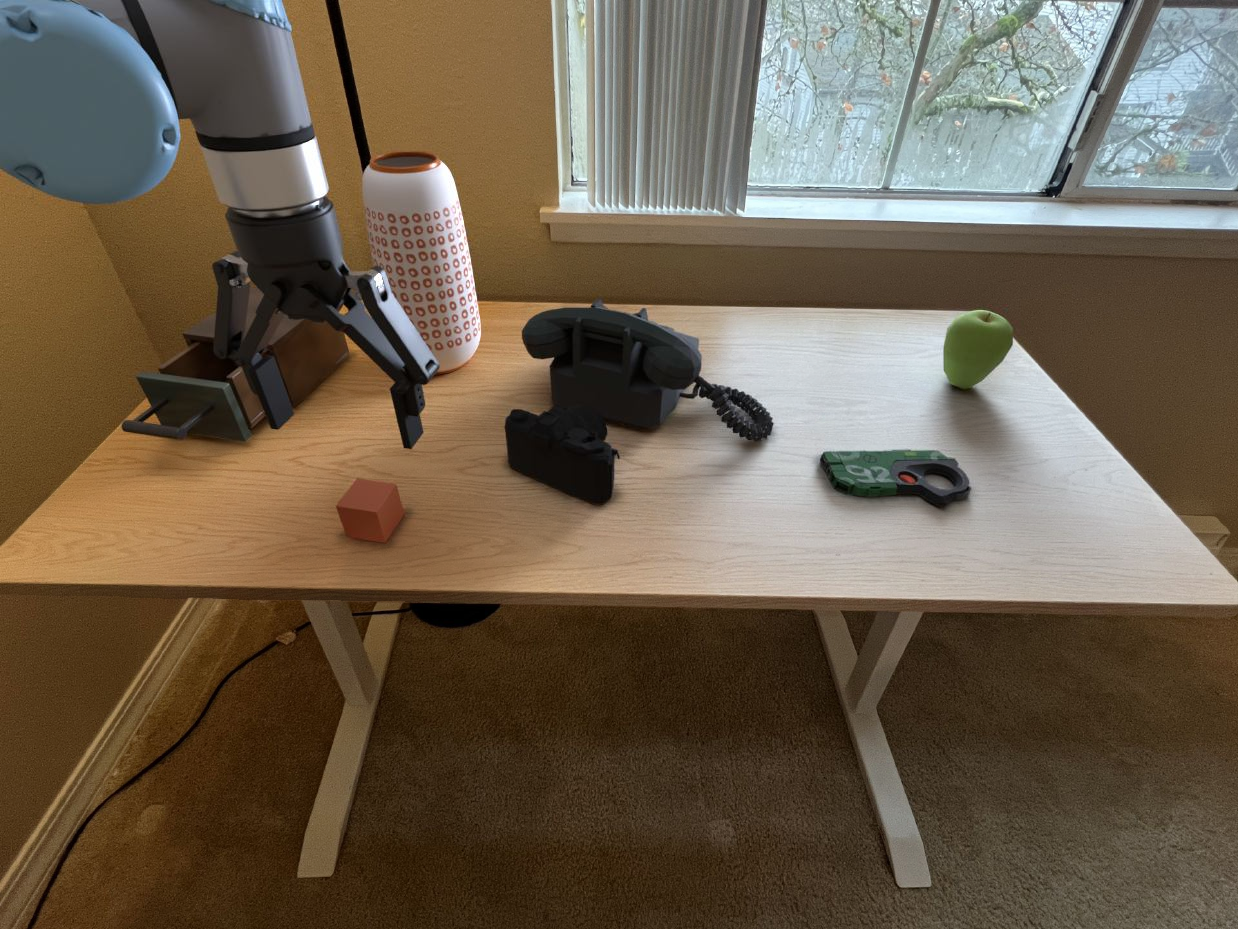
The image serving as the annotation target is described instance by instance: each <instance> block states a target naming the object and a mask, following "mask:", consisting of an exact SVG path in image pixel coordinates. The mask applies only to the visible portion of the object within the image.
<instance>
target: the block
mask: <svg viewBox="0 0 1238 929" xmlns="http://www.w3.org/2000/svg"><path fill="white" fill-rule="evenodd" d="M402 504H403V503H402V500H401V497H400V491H399V488H398V484H397V483H393V482H386V481H379V480H373V479H366V478H359V477H356V479H355V481H353V483H352V484H351V486H350V487H349V488H348V489H347V491H346V492H345V493H344V495H343V496H342V497H341V498H340V499H339V500H338V502H337V503H336V504H335V509H336V512H337V514H338V518H339V520H340V524H341V526H342V529H343V532H344V535H345V537H346V538H352V539H357V540H364V541H369V542H375V543H382V544H386V543H387V542H388V540H389V539H390V537H391V535H392V534H393V533H394V531H395V530H396V528H397V526H398V525H399V524H400V522H401V521H402V519H403V518H404V516H405V512H404V508H403V505H402Z"/></svg>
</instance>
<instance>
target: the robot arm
mask: <svg viewBox="0 0 1238 929" xmlns="http://www.w3.org/2000/svg"><path fill="white" fill-rule="evenodd" d="M292 32H293V29H292V24H291V23H290V22H289V20H288V16H287V13H286V10H285V7H284V3H283V0H0V170H1V171H3V172H5V173H6V174H7V175H9V176H11V177H12V178H15V179H17V180H18V181H20V182H21V183H23V184H25V185H28V186H29V187H31V188H34V189H35V190H37V191H40V192H42V193H44V194H47V195H49V196H52V197H54V198H58V199H62V200H65V201H69V202H74V203H79V204H80V203H81V204H88V205H110V204H116V203H123V202H126V201H129V200H132V199H135V198H138V197H140V196H142V195H144V194H146V193H148V192H150V191H151V190H152V189H154V188H155V187H157V186H158V185H159V184H160V183H161V182H162V181H163V180H164V179H165V178H166V176H167V175H168V173H169V172H170V171H171V169H172V168H173V165H174V163H175V161H176V158H177V154H178V152H179V147H180V142H181V139H182V138H181V137H182V135H181V129H180V122H179V120H187V119H188V120H189V121H190V122H191V124H192V126H193V128H194V131H195V135H196V139H197V141H198V143H199V146H200V149H201V152H202V155H203V158H204V161H205V164H206V166H207V171H208V172H209V176H210V179H211V181H212V184H213V187H214V191H215V193H216V195H217V199H218V201H219V203H220V204H222V205H223V206H225V207H227V210H226V212H225V213H224V217H225V220H226V223H227V226H228V229H229V231H230V234H231V236H232V240H233V241H234V242H233V243H234V246H235V247H236V250H233V251H232V252H231V253H229V254H226V255H225V256H223V257H221V258H219V259H218V260H216V261H214V262H213V263H212V265H211V267H212V271H213V274H214V278H215V281H216V285H217V298H216V309H215V312H216V320H215V333H214V345H213V352H214V354H215V355H216V356H217V357H218V358H220V359H225V358H226V357H228V358H230V359H233V360H234V361H235V363H236V364H237V365H238V366H240V367H242V369H243V372H244V374H245V377H246V379H247V382H248V384H249V387H250V389H251V391H252V392H253V393H254V394H255V395H258V397H259V399H260V402H261V404H262V407H263V410H264V412H265V415H266V416H265V417H266V420H267V422H268V424H269V427H270V429H271V430H276V431H279V430H280V429H282V427H283V426H284V425H285V424H286V423H287V422H289V420H290V419H291V418H292V417H294V415H295V412H294V408H292V405H291V403H290V400H289V397H288V394H287V392H286V389H285V386H284V383H283V380H282V378H281V375H280V372H279V369H278V367H277V364H276V361H275V358H274V356H269V355H266V356H265V357H263V358H262V357H261V355H262V354H263V353H264V352H266V351H267V350H268V349H266V347H267V346H268V344H269V342H270V340H271V338H272V337H273V335H274V333H275V331H276V329H277V328H278V326H279V324H280V322H281V320H282V319H283V317H284V315H285V314H286V315H288V317H289V319H295V320H299V319H308V320H311V321H314V322H320V323H324V322H325V321H326V322H327V323H328V324H329V325H331V326H332V327H333V328H334V329H335V330H336V331H340V332H344V335H345V336H347V337H348V338H349V339H350V341H351V342H353V344H355V345H356V346H357V347H358V348H359V349H360V350H361V351H362V352H363V353H364V354H365V355H366V356H367V357H368V358H369V360H371V361H372V362H373V363H374V364H375V365H377V366H378V367H379V368H380V369H381V370H382V371H383V373H385V375H387V376H388V377H389V378H390V379H391V380H392V381H393V382H394V383H393V384H392V386H390V388H389V392H390V395H391V397H390V398H391V401H392V404H393V409H394V414H395V417H396V422H397V426H398V430H399V434H400V438H401V442H402V447H403V449H406V450H412V449H413V448H414V446H415V445H416V444H417V442H418V441H419V440H420V438H421V437H422V436H423V434H424V433H425V431H424V427H423V422H422V417H421V413H423V411H424V409H425V408H426V399H425V395H424V390H423V386H426V385H427V384H428V383H429V382H430V381H431V380H432V378H433V377H434V376H435V375H436V374H435V373H436V372H437V371H438V370H439V368H440V365H439V363H438V361H437V360H436V358H435V357H434V355H433V354H432V352H431V351H430V349H429V348H428V346H427V345H426V343H425V342H424V340H423V339H422V337H421V336H420V334H419V333H418V331H417V330H416V328H415V327H414V325H413V324H412V322H411V321H410V319H409V318H408V316H407V315H406V313H405V312H404V310H403V309H402V307H401V306H400V304H399V303H398V301H397V300H396V298H395V297H394V295H393V294H392V292H391V288H390V285H389V282H388V279H387V276H386V273H385V271H384V269H383V268H381V267H380V266H374V267H373V266H372V267H371V268H369V270H356V271H355V270H353V271H352V270H351V269H350V268H349V267H348V265H347V264H346V262H345V259H344V255H343V248H344V247H343V243H344V242H343V238H342V233H341V229H340V225H339V221H338V216H337V214H336V210H335V204H334V203H333V201H332V200H331V199H329V198H328V197H327V194H328V192H329V191H330V187H329V183H328V179H327V174H326V170H325V166H324V162H323V159H322V155H321V151H320V146H319V143H318V139H317V135H316V133H315V129H314V125H313V122H312V118H311V114H310V109H309V105H308V101H307V97H306V93H305V88H304V84H303V79H302V75H301V71H300V68H299V67H300V66H299V62H298V57H297V54H296V49H295V48H296V47H295V44H294V40H293V35H292ZM251 282H252V283H253V284H254V286H255V287H258V288H259V290H260V291H261V292H262V293H263V294H264V296H263V298H262V300H261V302H260V304H259V306H258V308H257V310H256V312H255V313H256V314H257V315H256V316H255V318H254V320H253V322H252V324H251V326H250V328H249V330H248V332H247V334H246V336H245V327H246V319H247V310H248V302H249V293H250V289H251ZM351 290H353V291H354V292H355V293H356V294H355V293H353V292H352V291H351ZM343 306H344V307H345V308H346V309H347V312H346V313H345V314H341V313H340V311H341V310H342V308H343ZM244 336H245V338H244ZM265 349H266V350H265Z"/></svg>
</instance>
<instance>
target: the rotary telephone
mask: <svg viewBox="0 0 1238 929" xmlns="http://www.w3.org/2000/svg"><path fill="white" fill-rule="evenodd" d="M523 326H524V327H523V328H522V329H521V340H522V343H523V345H524V347H525V349H526V352H527V354H528V355H529V356H530V357H531V358H532V359H536V360H547V359H552V361H551V363H550V365H549V381H550V382H549V384H550V385H549V386H550V399H551V400H550V401H551V403H552V404H554V405H555V406H556V407H559V408H562V409H564V410H567V409H568V408H570V407H573V406H575V405H576V404H586V405H589V406H591V407H593V408H595V409H596V410H597V411H598V412H599V413H600V414H601V415H602V417H603V418H604V420H605V422H609V423H613V424H617V425H621V426H626V427H630V428H634V429H637V430H641V431H643V430H648V431H649V430H652V429H655V428H657V427H658V426H660V425H661V424H663V422H664V421H665V420H666V419H667V418H668V417H669V416H670V415H671V414H672V412H674V411H675V409H676V408H677V405H678V403H679V401H680V400H681V398H684V399H690V400H694V399H695V398H697V397H699V398H701V399H705V398H706V399H707V400H709V401H711V402H712V404H711V407H712V408H713V409H715V410H716V412H715V415H716V416H718V417H720V422H721V423H723V424H726V428H727V429H731V431H732V434H738V436H739V438H740V439H743V438H745V439H746V441H748V442H749V441H754V442H762V440H768V436H771V435H772V431H773V427H774V425H775V422H773V419H774V418H773V417H772V416H770V415H771V412H769V411H768V410H767V408H766V407H764V406H763V403H760V402H759V401H758V399H756V398H754V397H753V396H752V395H751V394H749V393H748V394H746V392H745V391H739V389H738V388H732V387H731V386H725V385H723V384H717V383H711V382H708V380H706V379H704V377H702V376H701V375H700V373H701V372H702V371H701V370H702V362H703V361H702V360H703V358H702V357H703V355H702V354H701V352H700V350H699V345H700V339H699V338H698V337H695V336H692V335H689V334H686V333H682V332H680V331H676V330H675V329H674V327H670V326H666V325H662V324H658V322H655V321H652V320H649V315H648V311H647V308H645V307H642V308H640V310H639V312H635V313H630V312H626V311H621V310H617V309H616V310H615V309H611V308H609V307H606V306H605V305H604V303H603V301H602V300H601V299H598V298H596V300H594V302H592V304H591V305H590V306H589V307H561V308H553V309H547V310H544V311H541V312H539V313H537V314H535V315H533V316H532V317H530V318H529V319H528V320H527V321H526V323H525V325H523ZM694 383H695V384H694ZM693 384H694V386H693V388H692V392H691V393H688V392H684V390H686V389H688V387H690V386H691V385H693ZM736 407H738V408H739V409H740V410H741V411H743V412H744V413H745V414H747V415H748V417H750V418H751V421H753V422H750V419H746V418H745V415H740V411H737V410H736Z"/></svg>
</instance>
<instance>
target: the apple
mask: <svg viewBox="0 0 1238 929" xmlns="http://www.w3.org/2000/svg"><path fill="white" fill-rule="evenodd" d="M1013 330H1014V328H1013V327H1012V326H1011V324H1010V322H1009V320H1007V319H1006V318H1005V317H1003V316H1001V315H999V314H998V313H995V312H992V311H990V310H983V309H976V310H971V311H968V312H964V313H962V314H959V315H957V316H956V317H955V318H954V320H953V321H951V323H950V324H949V325H948V326H947V327H946V331H945V337H944V342H943V350H942V351H943V352H942V358H943V359H942V360H943V363H942V364H943V372H944V374H945V376H946V378H947V380H948V382H949V383H950V384H951V385H952V386H954V387H957V388H959V389H963V390H967V389H970V388H972V387H974V386H976V385H977V384H979V383H982V382H983V381H984V380H985V379H986V378H987V377H988V376H989V375H990V374H991V373H992V372H993V371H995V370H996V369H997V367H998V366H1000V364H1002V363H1003V361H1004V360H1005V359H1006V356H1007V355H1008V353H1009V352H1010V350H1011V349H1012V347H1013V345H1014V331H1013Z"/></svg>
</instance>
